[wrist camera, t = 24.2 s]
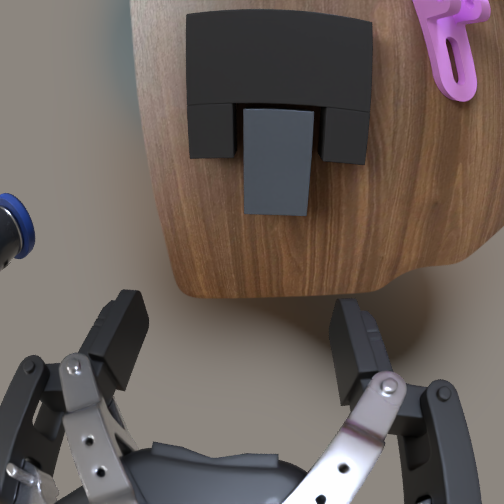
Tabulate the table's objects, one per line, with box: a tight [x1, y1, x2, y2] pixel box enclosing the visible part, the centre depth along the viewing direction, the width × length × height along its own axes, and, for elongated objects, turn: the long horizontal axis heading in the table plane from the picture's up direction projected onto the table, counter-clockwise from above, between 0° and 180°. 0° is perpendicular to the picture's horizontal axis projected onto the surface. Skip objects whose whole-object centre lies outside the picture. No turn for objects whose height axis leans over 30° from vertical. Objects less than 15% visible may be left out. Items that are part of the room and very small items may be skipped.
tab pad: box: [244, 107, 314, 216], centre depth 26 cm, size 6×10×3 cm, turn 0°
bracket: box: [412, 0, 491, 102], centre depth 15 cm, size 13×6×7 cm, turn 16°
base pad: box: [186, 9, 373, 165], centre depth 22 cm, size 16×14×3 cm
